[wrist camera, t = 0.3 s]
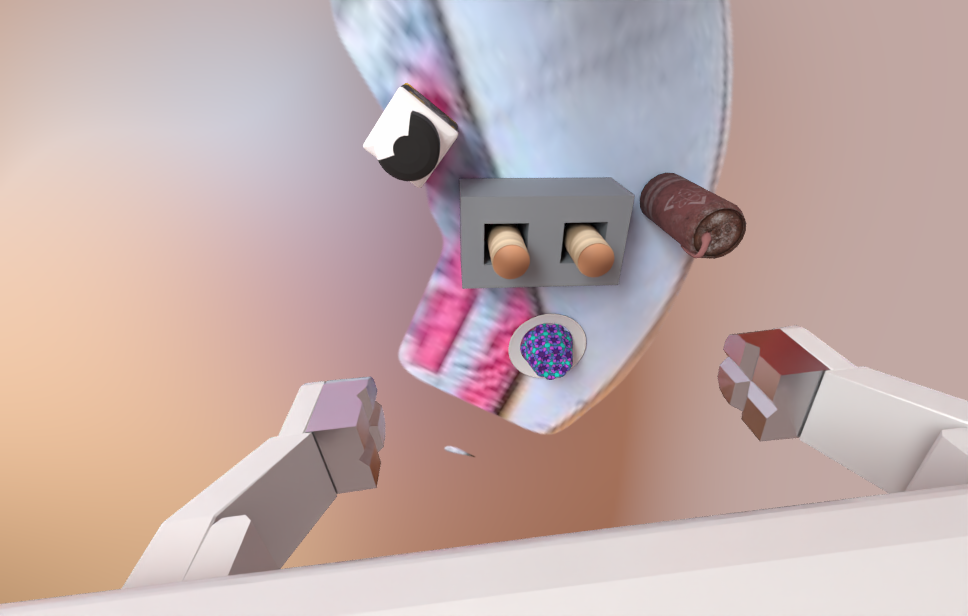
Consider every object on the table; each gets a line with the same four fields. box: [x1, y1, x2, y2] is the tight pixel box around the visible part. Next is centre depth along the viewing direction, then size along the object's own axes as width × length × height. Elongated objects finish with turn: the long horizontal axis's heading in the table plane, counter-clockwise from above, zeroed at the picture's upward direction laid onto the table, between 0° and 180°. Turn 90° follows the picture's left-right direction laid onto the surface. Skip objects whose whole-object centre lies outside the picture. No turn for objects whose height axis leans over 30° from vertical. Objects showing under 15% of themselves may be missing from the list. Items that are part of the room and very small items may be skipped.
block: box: [459, 178, 635, 289], centre depth 53 cm, size 11×19×8 cm, turn 89°
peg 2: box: [562, 222, 614, 277], centre depth 49 cm, size 4×4×8 cm
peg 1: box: [487, 223, 530, 279], centre depth 48 cm, size 4×4×8 cm
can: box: [640, 173, 746, 258], centre depth 50 cm, size 6×6×14 cm
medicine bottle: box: [363, 83, 458, 188], centre depth 45 cm, size 7×7×12 cm
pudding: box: [509, 314, 586, 380], centre depth 65 cm, size 12×12×5 cm
